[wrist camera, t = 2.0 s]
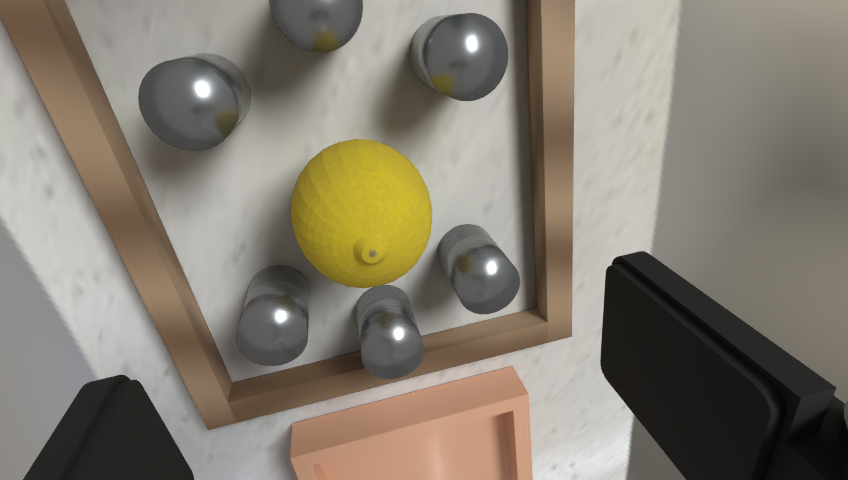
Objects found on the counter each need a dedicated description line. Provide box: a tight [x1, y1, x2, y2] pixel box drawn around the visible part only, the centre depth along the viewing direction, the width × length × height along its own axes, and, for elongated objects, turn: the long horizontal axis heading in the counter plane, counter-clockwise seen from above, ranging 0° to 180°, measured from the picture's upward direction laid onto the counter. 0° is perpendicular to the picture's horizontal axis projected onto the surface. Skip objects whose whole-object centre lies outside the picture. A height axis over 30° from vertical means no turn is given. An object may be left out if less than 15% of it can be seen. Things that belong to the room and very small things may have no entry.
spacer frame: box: [0, 0, 575, 430], centre depth 21 cm, size 23×21×2 cm
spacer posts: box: [138, 0, 520, 379], centre depth 20 cm, size 18×13×4 cm
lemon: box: [291, 139, 432, 288], centre depth 18 cm, size 6×6×8 cm
